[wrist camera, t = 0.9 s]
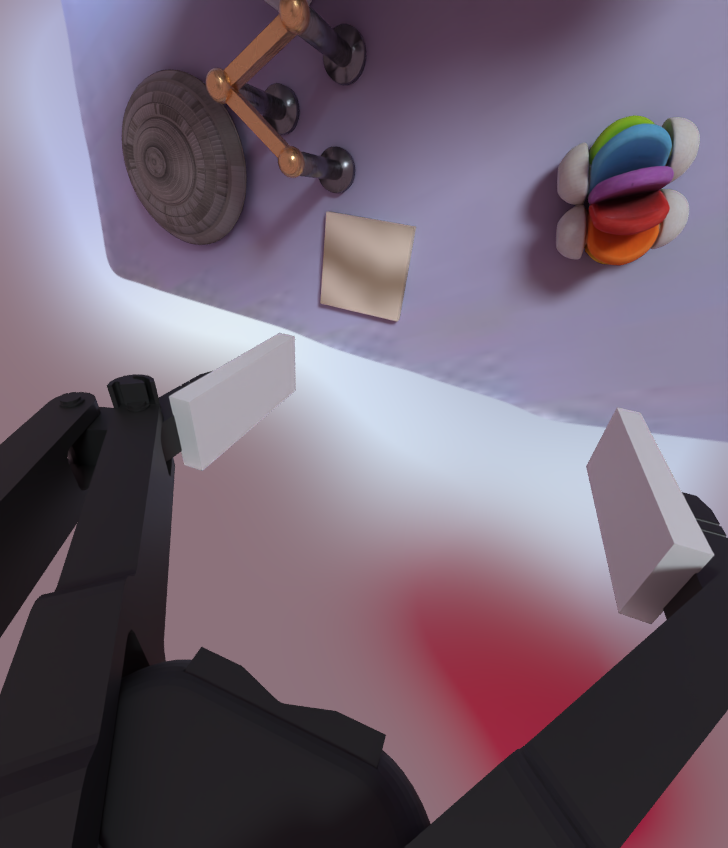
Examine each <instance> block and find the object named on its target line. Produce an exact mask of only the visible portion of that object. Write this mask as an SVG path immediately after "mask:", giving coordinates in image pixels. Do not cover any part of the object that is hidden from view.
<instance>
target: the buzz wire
mask: <svg viewBox="0 0 728 848" xmlns="http://www.w3.org/2000/svg"><path fill="white" fill-rule="evenodd" d="M296 35H299V36H300V37H301V38H303V39H304V40H305V41H307V42H308V43H309V44H310V45H312V46H313V47H314V48H316V49H317V50H318V51H320V52H321V53H322V54H323V60H324V65H325V69H326V71H327V73H328V75H329V76H330V77H331V78H332V79H333V80H334V81H335V82H337V83H339V84H341V85H349V84H352V83H353V82H355V81H356V80H357V79H358V78H359V76H360V75H361V73H362V71H363V69H364V66H365V62H366V47H365V43H364V40H363V38H362V36H361V35H360V33H359V32H358V31H357V30H356V29H355V28H354V27H353V26H351V25H348V24H341V25H338V26H336V27H335V28H334V29H333V28H332V27H331V26H330V25H329V24H327V23H326V22H325V21H324V20H323V19H322V18H321V17H320V16H319V15H318V14H317V13H316V12H315V11H314V10H313V9H312V8H310V7H309V5H308V3H307V1H306V0H280V3H279V15H278V16H277V17H276V18H275V19H274V20H273V21H272V22H271V23H270V24H269V25H268V26H267V27H266V28H265V29H264V30H263V31H262V32H261V33H260V34H259V35H258V36H257V37H256V38H255V39H254V40H253V41H252V42H251V43H250V44H249V45H248V46H247V47H246V48H245V49H244V50H243V51H242V52H241V53H240V54H239V55H238V56H237V57H236V58H235V59H234V60H233V61H232V62H231V63H230V64H229V65H228V66H227V67H226V68H225V69H224V70H223V69H221V68H213V69H211V70H210V71H209V72H208V74H207V76H206V88H207V91H208V93H209V95H210V96H211V97H212V99H213V100H215V101H216V102H218V103H220V104H228V105H229V107H230V108H231V109H232V110H233V111H234V112H235V113H236V114H237V115H238V116H239V117H240V118H241V119H242V120H243V121H244V122H245V124H246V125H247V126H248V127H249V128H250V129H251V130H252V131H253V132H254V133H255V134H256V135H257V136H258V137H259V138H260V139H261V141H262V142H263V143H264V144H265V145H266V146H267V147H268V148H269V149H270V150H271V151H272V152H273V153H274V154H275V155H276V156H277V158H278V164H279V168H280V170H281V171H282V173H283V174H284V175H286V176H287V177H290V178H296V177H298V176H305V177H313V178H319V180H320V182H321V184H322V185H323V187H324V188H325V189H326V190H328V191H330V192H333V193H341V192H344V191H346V190H347V189H348V188H349V187H350V186H351V184H352V182H353V180H354V176H355V165H354V161H353V159H352V157H351V155H350V154H349V153H348V152H347V151H346V150H345V149H343V148H340V147H330V148H328V149H326V150H325V151H324V152H323V153H322V155H321V156H317V155H313V154H309V153H305V152H301V151H300V150H299V149H297V148H296V147H294V146H290V145H289V144H288V143H287V142H286V141H285V140H284V139H283V138H282V137H281V136H280V135H279V134H281V135H286V134H289V133H290V132H292V131H293V130H294V128H295V127H296V125H297V122H298V119H299V104H298V100H297V98H296V96H295V94H294V93H293V91H292V90H291V89H290V88H288V87H287V86H285V85H283V84H279V83H276V84H273V85H271V86H269V87H268V88H267V90H266V91H262V90H260V89H258V88H256V87H253V86H251V85H249V84H247V82H248V81H249V80H250V79H251V78H252V77H253V76H254V75H255V74H256V73H257V72H258V71H259V70H260V69H261V68H262V67H264V66H265V65H266V64H267V63H268V62H269V61H270V60H271V59H272V58H273V57H274V56H275V55H276V54H277V53H278V52H279V51H280V50H281V49H283V48H284V47H285V46H286V45H287V44H288V43H289V42H290V41H291V40H292V39H293V38H294V37H295V36H296Z"/></svg>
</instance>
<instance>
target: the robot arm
mask: <svg viewBox="0 0 728 848" xmlns="http://www.w3.org/2000/svg"><path fill="white" fill-rule="evenodd" d="M107 387H108V391H109V394H110V397H111V400H112V403H113V406H114V408H107V407H99V406H98V404H97V401H96V398H95V396H94V395H92V394H90V393H84V392H79V393H78V392H77V393H76V392H72V393H69V394H68V393H66V394H63V395H62V396H59V397H56V398H54V399H53V400H51V401H50V402H48V403H47V404H46V405H45V406H44V407H43V408H41V409H40V410H39V411H38V412H37V413H36V414H35V415H33V416H32V417H31V418H30V419H29V420H28V421H27V422H25V423H24V424H23V425H22V426H21V427H20V428H19V429H17V430H16V431H15V432H14V433H13V434H12V435H11V436H9V437H8V438H7V439H6V440H5V441H4V442H3V443H2V444H0V637H1V636H2V634H3V633H4V631H5V630H6V628H7V627H8V625H9V624H10V622H11V621H12V619H13V618H14V616H15V615H16V613H17V612H18V610H19V609H20V608H21V606H22V605H23V603H24V601H25V600H26V599H27V597H28V595H29V594H30V593H31V591H32V589H33V588H34V586H35V585H36V583H37V582H38V581H39V579H40V578H41V576H42V575H43V573H44V572H45V570H46V569H47V567H48V566H49V564H50V563H51V561H52V560H53V558H54V557H55V555H56V554H57V552H58V551H59V549H60V548H61V546H62V545H63V543H64V542H65V540H66V539H67V537H68V536H69V534H70V533H71V531H72V530H73V528H74V527H75V525H76V524H77V526H76V529H75V532H74V535H73V539H72V541H71V545H70V548H69V551H68V554H67V557H66V560H65V563H64V566H63V570H62V573H61V576H60V579H59V582H58V585H57V588H56V590H55V592H53V593H49V594H44V595H41V596H40V597H39V598H38V599H37V600H36V601H35V603H34V605H33V607H32V609H31V611H30V614H29V617H28V619H27V622H26V625H25V628H24V630H23V633H22V636H21V639H20V641H19V644H18V647H17V650H16V652H15V655H14V658H13V661H12V663H11V666H10V669H9V672H8V674H7V677H6V680H5V683H4V685H3V688H2V691H1V694H0V848H620V847H621V846H622V845H623V843H624V842H625V841H626V839H627V838H628V837H629V836H630V834H631V833H632V832H633V831H634V829H635V828H636V827H637V825H638V824H639V823H640V822H641V820H642V819H643V818H644V817H645V815H646V814H647V813H648V811H649V810H650V809H651V808H652V806H653V805H654V804H655V802H656V801H657V800H658V798H659V797H660V796H661V795H662V793H663V792H664V791H665V790H666V788H667V787H668V786H669V784H670V783H671V782H672V781H673V779H674V778H675V777H676V775H677V774H678V773H679V772H680V770H681V769H682V768H683V767H684V765H685V764H686V763H687V761H688V760H689V759H690V758H691V756H692V755H693V754H694V752H695V751H696V750H697V749H698V747H699V746H700V745H701V743H702V742H703V741H704V739H705V738H706V737H707V736H708V734H709V733H710V732H711V731H712V729H713V728H714V727H715V725H716V724H717V723H718V721H719V720H720V719H721V718H722V716H723V715H724V714H725V713H726V711H727V710H728V538H726V534H725V532H724V530H723V529H722V527H721V526H719V524H720V523H719V522H718V520H717V519H716V517H715V515H714V513H713V512H712V510H711V509H710V508H709V507H708V506H707V505H706V504H705V503H704V502H702V501H701V500H700V499H699V498H698V497H697V496H694V495H690V494H687V493H683V492H681V490H680V488H679V486H678V484H677V482H676V480H675V478H674V476H673V474H672V473H671V471H670V469H669V467H668V465H667V463H666V461H665V459H664V457H663V455H662V454H661V451H660V450H659V448H658V446H657V444H656V442H655V440H654V438H653V436H652V434H651V432H650V430H649V428H648V426H647V424H646V422H645V421H644V419H643V417H642V415H641V413H639V412H635V411H630V410H626V409H621V408H616V410H615V412H614V414H613V416H612V418H611V420H610V422H609V424H608V426H607V428H606V430H605V431H604V433H603V435H602V437H601V439H600V441H599V443H598V445H597V447H596V449H595V451H594V452H593V454H592V456H591V458H590V460H589V462H588V464H587V466H586V467H587V472H588V476H589V481H590V485H591V490H592V494H593V499H594V504H595V508H596V512H597V517H598V521H599V526H600V531H601V535H602V540H603V544H604V549H605V553H606V558H607V563H608V567H609V571H610V575H611V580H612V585H613V590H614V594H615V599H616V603H617V607H618V612H619V613H620V614H623V615H626V616H629V617H632V618H635V619H638V620H640V621H643V622H646V623H649V624H652V623H653V622H654V621H655V620H656V619H657V618H658V616H659V615H660V614H661V613H662V612H663V611H664V613H665V616H666V619H667V620H666V621H665V622H664V623H663V624H662V625H661V626H659V627H658V628H657V629H656V630H655V631H654V632H653V633H652V634H650V635H649V636H648V637H647V638H646V639H645V640H644V641H642V642H641V643H640V644H639V645H638V646H637V647H636V648H635V649H634V650H632V651H631V652H630V653H629V654H628V655H627V656H625V657H624V658H623V659H622V660H621V661H620V662H619V663H618V664H617V665H615V666H614V667H613V668H612V669H611V670H610V671H609V672H607V673H606V674H605V675H604V676H603V677H602V678H601V679H600V680H598V681H597V682H596V683H595V684H594V685H593V686H592V687H590V688H589V689H588V690H587V691H586V692H585V693H584V694H583V695H581V696H580V697H579V698H578V699H577V700H576V701H575V702H574V703H572V704H571V705H570V706H569V707H568V708H567V709H565V710H564V711H563V712H562V713H561V714H560V715H559V716H558V717H556V718H555V719H554V720H553V721H552V722H551V723H550V724H549V725H547V726H546V727H545V728H544V729H543V730H542V731H541V732H540V733H538V734H537V735H536V736H535V737H534V738H533V739H532V740H530V741H529V742H528V743H527V744H526V745H525V746H523V747H522V748H520V749H517V750H516V751H515V752H513V753H512V754H511V755H509V756H508V757H507V758H506V759H505V760H504V761H502V762H501V763H500V764H499V765H498V766H497V767H495V768H494V769H493V770H492V771H491V772H490V773H489V774H488V775H486V777H484V778H483V779H482V780H481V781H480V782H478V783H477V784H476V785H475V786H474V787H473V788H472V789H470V790H469V791H468V792H467V793H466V794H465V795H464V796H462V797H461V798H460V799H459V800H458V801H457V802H456V803H454V805H452V806H451V807H450V808H449V809H448V810H446V811H445V812H444V813H443V814H442V815H441V816H440V817H438V818H437V819H436V820H435V821H434V822H433V823H432V824H430V821H429V819H428V816H427V814H426V811H425V809H424V807H423V804H422V802H421V800H420V799H419V796H418V795H417V793H416V791H415V789H414V787H413V785H412V784H411V783H410V781H409V780H408V778H407V777H406V775H405V774H404V772H403V771H402V770H401V769H400V767H399V766H398V765H397V764H396V763H395V761H394V760H393V759H392V758H391V757H390V756H389V755H387V754H386V753H385V752H384V751H383V750H382V748H383V744H384V740H385V736H386V735H385V734H383V733H381V732H379V731H377V730H374V729H372V728H370V727H368V726H366V725H364V724H362V723H360V722H358V721H356V720H354V719H351V718H349V717H347V716H345V715H343V714H341V713H339V712H337V711H332V710H324V709H317V708H310V707H303V706H296V705H289V704H283V703H281V702H279V701H278V700H276V699H275V698H274V697H273V696H272V695H271V694H270V693H269V692H268V691H267V690H266V689H265V688H264V687H263V686H262V685H261V684H260V683H259V682H258V681H257V680H256V679H255V678H254V677H253V676H252V675H251V674H250V673H249V672H248V671H246V670H245V668H243V667H242V666H241V665H238V664H236V663H234V662H232V661H230V660H228V659H226V658H224V657H222V656H220V655H218V654H215V653H213V652H211V651H209V650H207V649H205V648H203V647H201V648H200V650H199V651H198V653H197V654H196V656H195V657H194V658H193V659H192V660H173V661H166V660H165V653H164V630H165V615H166V597H167V582H168V567H169V551H170V536H171V520H172V505H173V489H174V473H175V472H174V471H175V464H174V459H173V457H174V456H176V454H178V453H179V452H182V457H183V461H184V465H187V466H189V467H192V468H195V469H198V470H201V471H203V470H204V469H205V468H206V467H207V466H209V465H210V464H211V463H212V462H213V461H215V460H216V459H217V458H218V457H219V456H220V455H221V454H222V453H224V452H225V451H226V450H227V449H228V448H230V447H231V446H232V445H233V444H234V443H235V442H237V441H238V440H239V439H240V438H241V437H242V436H243V435H245V434H246V433H247V432H248V431H249V430H250V429H252V428H253V427H254V426H255V425H256V424H257V423H259V422H260V421H261V420H262V419H263V418H264V417H265V416H267V415H268V414H269V413H270V412H271V411H272V410H274V409H275V408H276V407H277V406H278V405H279V404H281V403H282V402H283V401H284V400H285V399H286V398H287V397H289V396H290V395H291V394H292V393H293V392H294V391H295V390H296V387H295V337H294V336H291V335H287V334H282V333H279V334H277V335H275V336H273V337H272V338H270V339H268V340H266V341H265V342H263V343H261V344H259V345H258V346H256V347H254V348H252V349H251V350H249V351H247V352H246V353H244V354H242V355H241V356H238V357H237V358H235V359H233V360H231V361H230V362H228V363H226V364H224V365H223V366H221V367H219V368H217V369H216V370H214V371H211V372H207V373H204V374H200V375H199V376H196V377H195V378H193V379H191V380H190V382H189V381H188V382H186V383H184V384H182V386H179V387H177V388H175V389H173V390H172V391H170V392H168V393H166V394H164V395H163V396H161V397H159V398H158V394H157V390H156V386H155V382H154V379H153V378H152V377H150V376H146V375H127V376H123V377H119V378H117V379H114V380H113V381H111V382H110V383H109V384H108V385H107ZM67 457H68V458H67ZM77 522H78V523H77Z"/></svg>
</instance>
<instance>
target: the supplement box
mask: <svg viewBox="0 0 728 848" xmlns="http://www.w3.org/2000/svg"><path fill="white" fill-rule="evenodd" d="M264 1H265V2H266V3H268V4H269V5H270V6H272V7H273V8H274V9H276V10H277V11H278V12H279V3H280V0H264ZM306 1H307V3H308V5H310V3H311V2H312V0H306Z"/></svg>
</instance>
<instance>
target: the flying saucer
mask: <svg viewBox="0 0 728 848" xmlns="http://www.w3.org/2000/svg"><path fill="white" fill-rule="evenodd" d="M122 148H123V156H124V161H125V165H126V169H127V172H128V175H129V178H130V181H131V183H132V186H133V188H134V190H135V192H136V194H137V196H138V198H139V199H140V201H141V203H142V204H143V206H144V207H145V208H146V210H147V211H148V212H149V214H150V215H151V216H152V217H153V218H154V219H155V221H156V222H157V223H158V224H159V225H161V226H162V227H163V228H164V229H165V230H166V231H168V232H169V233H170V234H172V235H173V236H175V237H177V238H179V239H180V240H183V241H185V242H188V243H191V244H198V245H205V244H211V243H214V242H216V241H218V240H220V239H222V238H223V237H225V236H226V235H227V234H228V233H229V232H230V231H231V230H232V228H233V227H234V225H235V224H236V222H237V220H238V218H239V216H240V214H241V211H242V208H243V205H244V200H245V194H246V164H245V157H244V152H243V148H242V144H241V141H240V138H239V135H238V132H237V129H236V127H235V125H234V122H233V120H232V118H231V116H230V115H229V113H228V111H227V109H226V108H225V106H224V105H223V104H220V103H218V102H216V101H215V100H213V99H212V97H211V96H210V95H209V93H208V91H207V88H206V84H204V83H203V82H202V81H200V80H199V79H198V78H196V77H194V76H192V75H190V74H188V73H185V72H182V71H179V70H162V71H158V72H156V73H154V74H152V75H150V76H149V77H147V78H146V79H144V80H143V81H142V82H141V83H140V84H139V85H138V87H137V88H136V89H135V91H134V92H133V94H132V96H131V97H130V100H129V102H128V104H127V107H126V110H125V114H124V118H123V125H122Z"/></svg>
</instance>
